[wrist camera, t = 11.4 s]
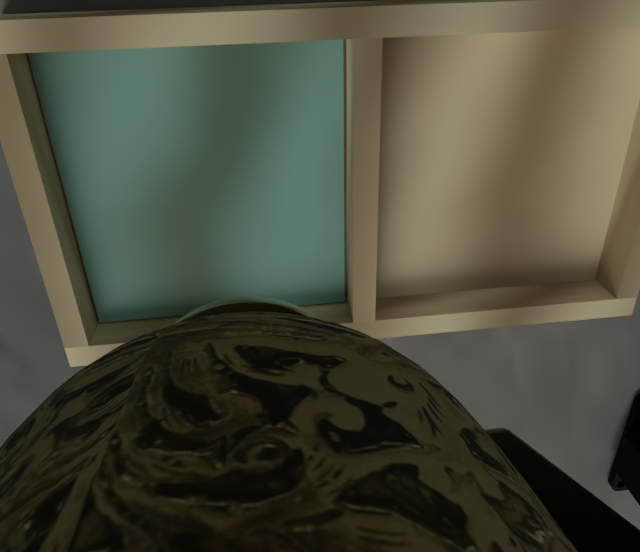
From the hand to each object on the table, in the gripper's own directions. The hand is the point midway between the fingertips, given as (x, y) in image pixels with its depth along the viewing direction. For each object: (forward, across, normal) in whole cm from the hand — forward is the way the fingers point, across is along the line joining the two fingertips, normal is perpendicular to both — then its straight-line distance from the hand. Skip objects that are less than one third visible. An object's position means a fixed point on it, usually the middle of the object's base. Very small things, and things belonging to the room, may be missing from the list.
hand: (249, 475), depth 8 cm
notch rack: (+13, -4, 0) cm, 14 cm away
